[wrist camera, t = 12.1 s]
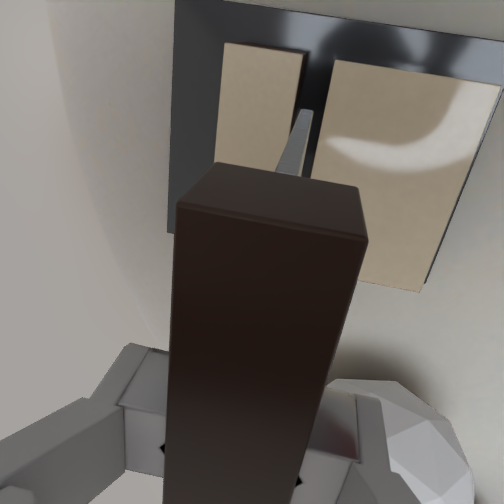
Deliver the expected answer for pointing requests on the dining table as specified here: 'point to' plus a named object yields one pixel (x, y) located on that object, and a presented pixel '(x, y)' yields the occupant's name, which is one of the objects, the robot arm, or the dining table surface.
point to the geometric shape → (418, 443)
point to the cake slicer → (255, 324)
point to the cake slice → (257, 103)
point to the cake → (352, 117)
